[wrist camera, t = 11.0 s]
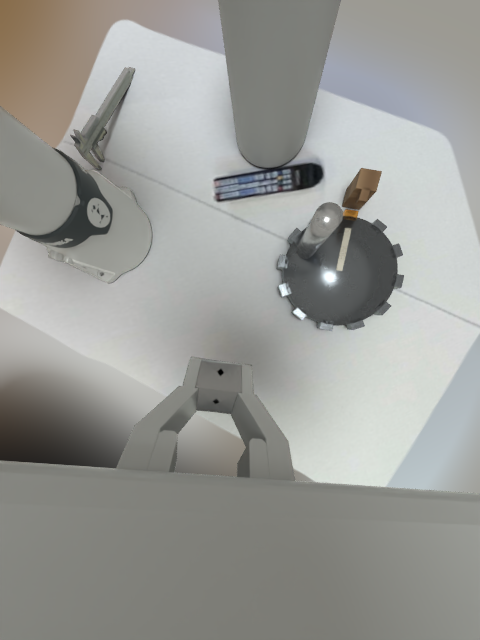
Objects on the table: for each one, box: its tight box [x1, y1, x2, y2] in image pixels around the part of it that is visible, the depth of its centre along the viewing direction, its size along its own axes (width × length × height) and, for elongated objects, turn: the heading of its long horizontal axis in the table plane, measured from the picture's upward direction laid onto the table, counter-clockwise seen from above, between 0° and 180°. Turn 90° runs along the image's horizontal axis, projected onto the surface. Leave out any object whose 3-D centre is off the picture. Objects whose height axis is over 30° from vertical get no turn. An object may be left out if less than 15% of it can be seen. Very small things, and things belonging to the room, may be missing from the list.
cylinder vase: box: [218, 0, 341, 168], centre depth 23 cm, size 12×12×25 cm
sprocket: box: [277, 202, 404, 331], centre depth 27 cm, size 20×20×13 cm
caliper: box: [70, 67, 135, 170], centre depth 35 cm, size 20×1×6 cm, turn 158°
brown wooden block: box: [342, 168, 382, 210], centre depth 32 cm, size 3×5×5 cm, turn 166°
